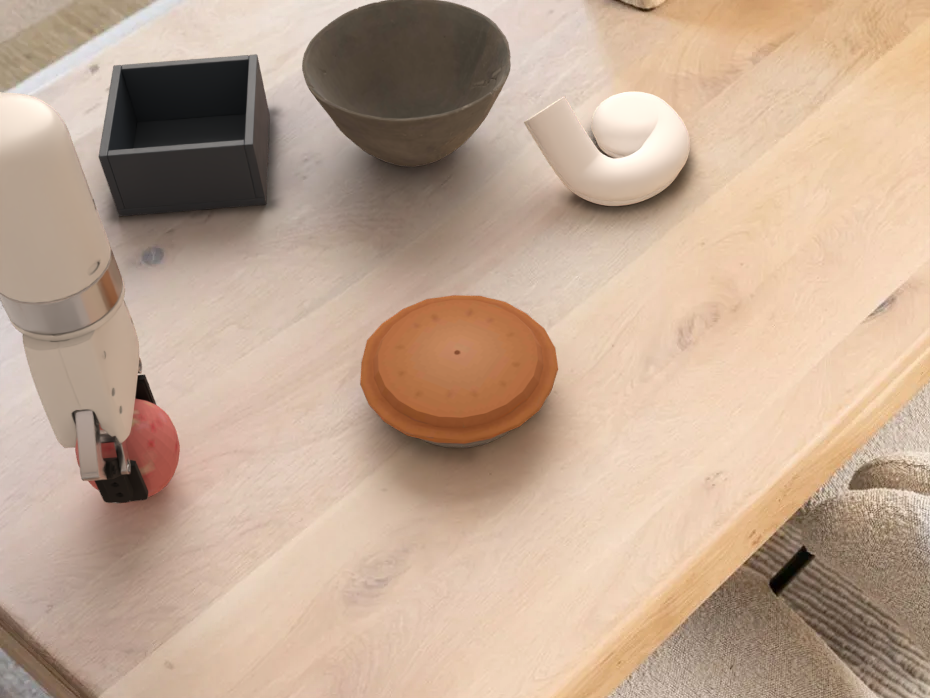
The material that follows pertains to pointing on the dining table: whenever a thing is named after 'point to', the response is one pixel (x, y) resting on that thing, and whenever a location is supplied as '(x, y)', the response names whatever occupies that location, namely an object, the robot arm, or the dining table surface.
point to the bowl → (408, 76)
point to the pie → (458, 370)
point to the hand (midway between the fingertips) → (131, 454)
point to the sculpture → (614, 147)
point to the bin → (186, 135)
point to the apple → (149, 446)
